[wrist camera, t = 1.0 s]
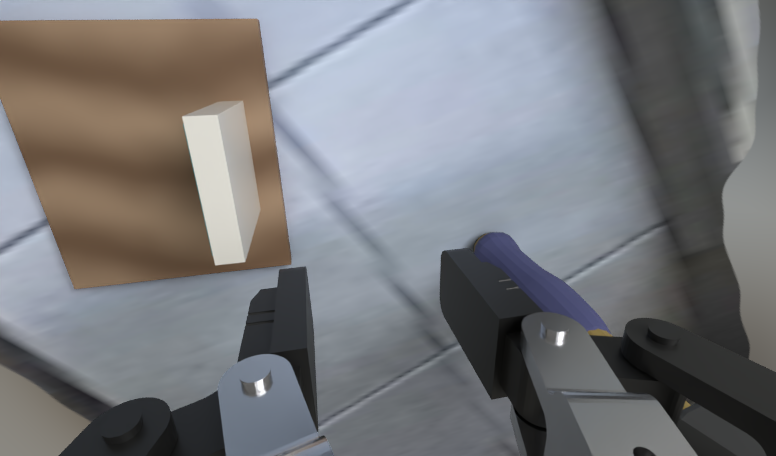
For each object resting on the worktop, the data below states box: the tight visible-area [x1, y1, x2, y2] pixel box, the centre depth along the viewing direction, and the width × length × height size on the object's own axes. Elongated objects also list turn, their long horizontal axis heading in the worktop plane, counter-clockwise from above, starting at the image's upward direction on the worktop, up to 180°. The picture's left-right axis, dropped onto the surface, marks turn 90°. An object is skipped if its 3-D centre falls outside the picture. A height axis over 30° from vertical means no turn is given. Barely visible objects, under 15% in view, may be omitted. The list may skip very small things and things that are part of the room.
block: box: [182, 101, 261, 265], centre depth 24 cm, size 8×2×9 cm, turn 2°
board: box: [0, 19, 291, 289], centre depth 28 cm, size 18×16×1 cm
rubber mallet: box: [474, 233, 766, 456], centre depth 23 cm, size 12×8×30 cm, turn 40°
